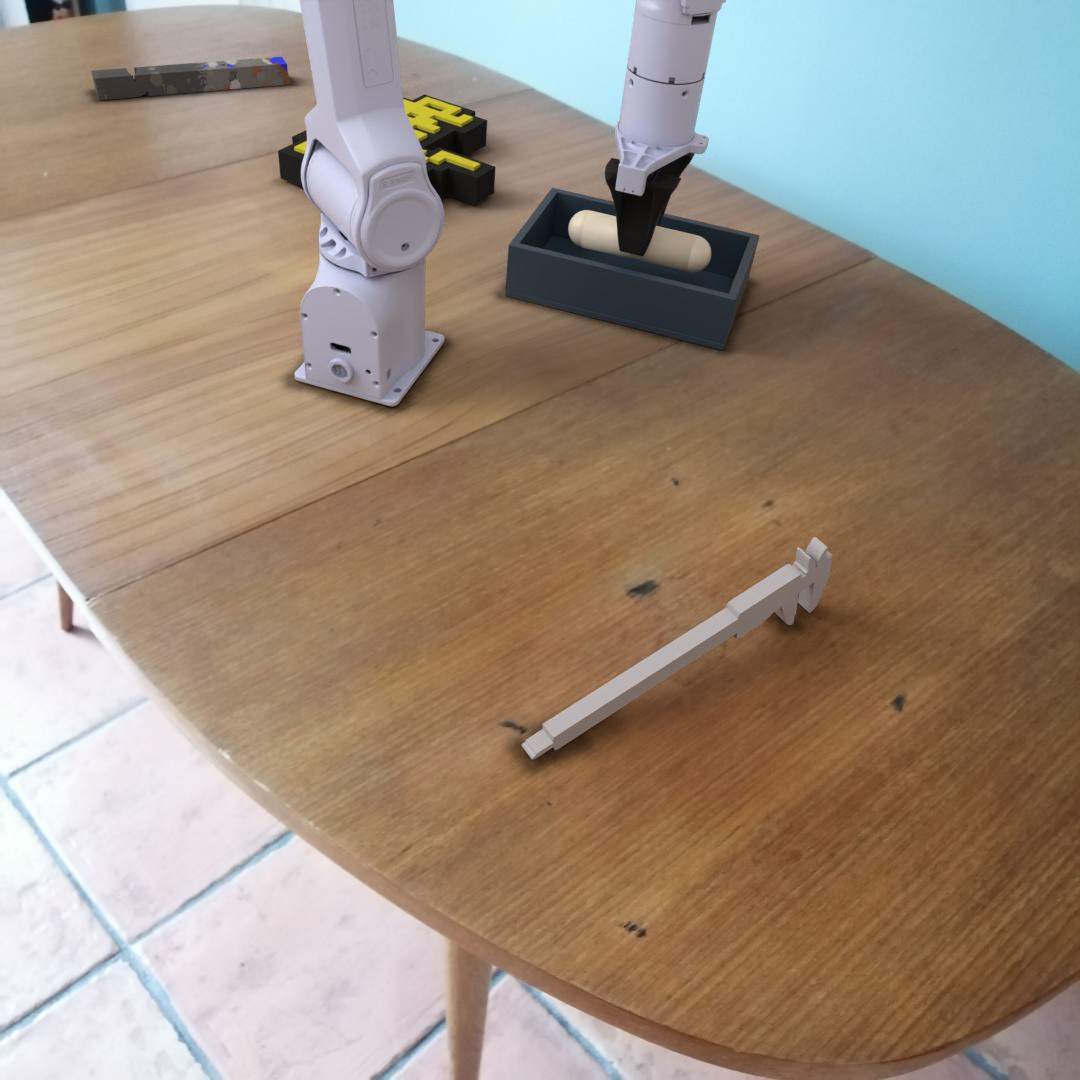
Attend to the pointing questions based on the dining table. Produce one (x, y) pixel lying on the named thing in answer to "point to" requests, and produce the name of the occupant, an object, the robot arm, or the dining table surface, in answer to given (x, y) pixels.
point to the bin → (629, 275)
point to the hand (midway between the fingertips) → (637, 242)
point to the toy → (430, 149)
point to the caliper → (695, 645)
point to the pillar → (190, 78)
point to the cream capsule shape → (663, 248)
